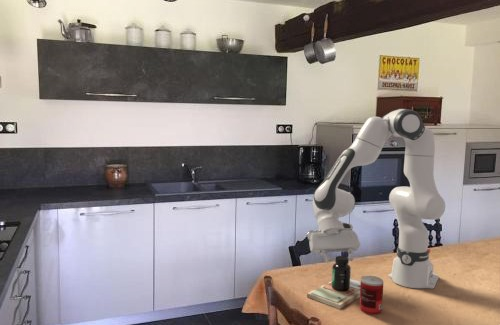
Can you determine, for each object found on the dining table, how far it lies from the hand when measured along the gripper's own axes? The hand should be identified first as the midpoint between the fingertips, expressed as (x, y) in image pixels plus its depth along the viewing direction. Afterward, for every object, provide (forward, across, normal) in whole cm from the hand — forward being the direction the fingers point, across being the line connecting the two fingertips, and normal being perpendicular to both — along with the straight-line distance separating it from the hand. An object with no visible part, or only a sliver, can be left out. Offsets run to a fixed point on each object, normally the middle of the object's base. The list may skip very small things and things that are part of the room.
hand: (339, 261), depth 166 cm
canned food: (+21, +4, -3) cm, 21 cm away
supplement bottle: (+8, 0, +6) cm, 10 cm away
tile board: (+10, 0, +7) cm, 12 cm away
